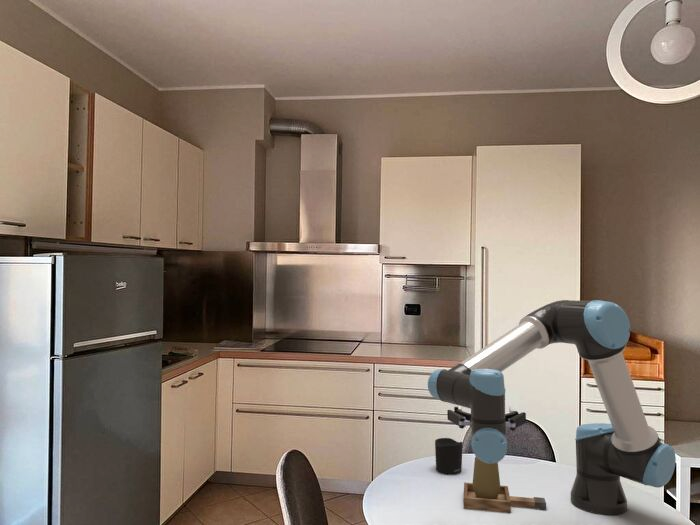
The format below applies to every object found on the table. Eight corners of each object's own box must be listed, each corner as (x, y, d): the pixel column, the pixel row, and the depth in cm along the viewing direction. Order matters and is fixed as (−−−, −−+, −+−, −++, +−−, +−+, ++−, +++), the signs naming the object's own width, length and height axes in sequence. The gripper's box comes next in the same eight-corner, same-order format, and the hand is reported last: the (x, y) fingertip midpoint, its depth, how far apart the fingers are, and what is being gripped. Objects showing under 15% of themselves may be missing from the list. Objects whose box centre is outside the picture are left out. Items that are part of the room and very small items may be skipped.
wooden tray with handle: (542, 499, 162) (542, 488, 162) (548, 516, 149) (548, 505, 149) (464, 492, 167) (464, 482, 167) (463, 508, 154) (463, 497, 154)
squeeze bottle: (468, 494, 163) (468, 433, 164) (494, 493, 164) (494, 433, 165) (477, 504, 155) (477, 440, 156) (505, 503, 156) (504, 440, 157)
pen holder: (436, 474, 183) (436, 444, 183) (434, 466, 192) (434, 437, 193) (464, 475, 182) (464, 445, 183) (460, 467, 191) (460, 438, 192)
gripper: (435, 442, 133) (440, 421, 154) (542, 448, 127) (532, 425, 148) (435, 411, 133) (440, 394, 154) (541, 415, 128) (531, 397, 149)
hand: (485, 409), depth 151 cm, fingers open, 13 cm apart
